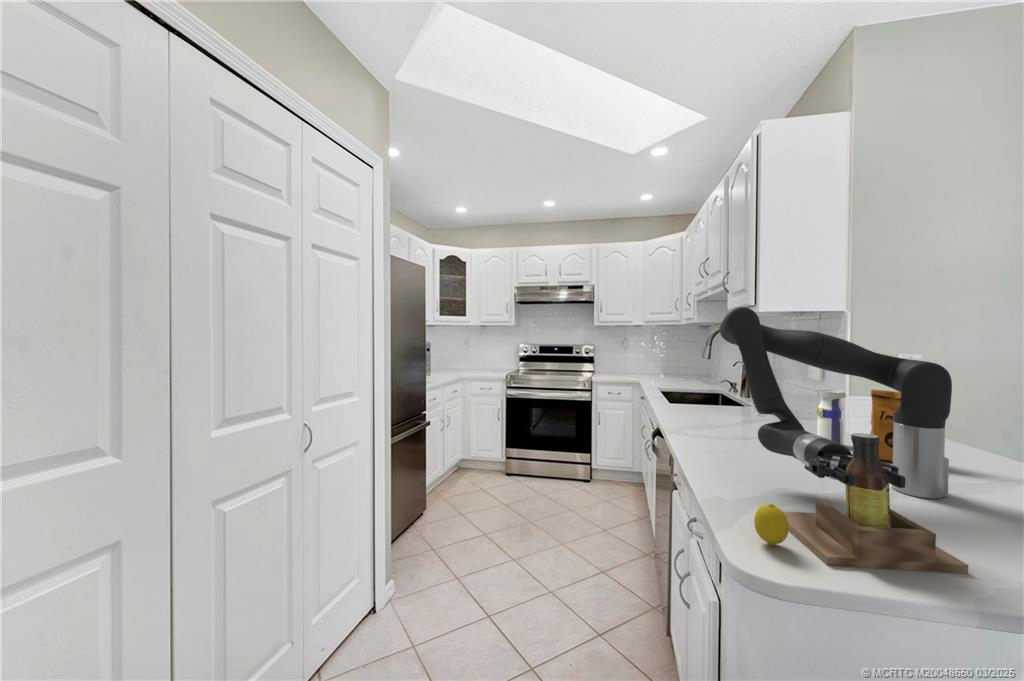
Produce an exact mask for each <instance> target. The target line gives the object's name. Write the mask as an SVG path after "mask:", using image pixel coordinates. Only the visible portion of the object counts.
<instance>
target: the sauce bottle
mask: <svg viewBox="0 0 1024 681" xmlns="http://www.w3.org/2000/svg"><path fill="white" fill-rule="evenodd" d="M850 440H851V443H852V455H853V458H852V460H851V462H850V463H849V464H848V465H847V467H846V471H847V472H849V473H851V474H852V475H853V477H854V483H853V486H847V485H845V500H846V501H845V502H846V506H845V507H846V514H847V517H848V518H850V519H851V520H853V521H854V522H856V523H857V524H859V525H860V526H862V527H881V528H891V524H890V509H891V507H890V506H891V501H890V500H891V499H890V483H889V480H888V478H887V475H886V473H885V471H884V469H883V466H882V464H881V462H880V461H881V460H880V459H879V449H878V445H879V444H880V440H879V437H878V436H876V435H872V434H871V433H860V432H854V433H851V434H850Z"/></svg>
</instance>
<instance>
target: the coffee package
mask: <svg viewBox="0 0 1024 681" xmlns="http://www.w3.org/2000/svg"><path fill="white" fill-rule="evenodd" d="M870 397H871V418H870V425H871V430H870V434H872V435H876V436H878V437H879V440H880V444H879V445H878V449H879V460H880V461H884V462H885V461H886V462H891V463H893V422H894V421H893V419H894V412H895V411H896V410H897V409H898V408H899V407H900V403H901V392H899V391H891V390H883V389H874V388H873V389H871V391H870Z"/></svg>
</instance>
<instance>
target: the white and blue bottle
mask: <svg viewBox="0 0 1024 681" xmlns="http://www.w3.org/2000/svg"><path fill="white" fill-rule="evenodd" d="M818 376H819V375H818V373H817V374H816V376H815V384H818V379H819V378H818ZM816 393H817V398H819V399H820V402H819V405H818V406H817V407H818V408H817V409H816V416H817V425H816V426H817V430H816V432H817V433H816V435H818V436H822V437H824V438H827V439H829V440H831V441H834V442H836V443H839V444H841V445H843V446H845V445H844V444H845V443H844V421H843V418H842V412H843V410H844V408H843V407H842V399H844V398H845V399H846V398H847V394H846V392H845V391H843V390H836V389H817V390H816Z"/></svg>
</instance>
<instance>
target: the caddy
mask: <svg viewBox="0 0 1024 681" xmlns="http://www.w3.org/2000/svg"><path fill="white" fill-rule="evenodd" d="M782 511H783V510H782ZM783 513H784V514H785V516H786V518H787V521H788V533H790V534H792V536H794V537H795V538H796V539H797V540H798V541H799V542H800V543H802V544H803V545H804V546H805V547H806V548H807V549H808V550H809V551H810V552H811V553H813V554H814V555H815V556H816V557H817V558H818V559H819V560H821V561H822V562H823V563H824V564H825V565H826V566H833V567H834V566H836V567H837V566H838V567H850V568H851V567H852V568H853V567H854V568H855V567H856V568H866V569H867V568H868V569H869V568H870V569H883V570H885V569H887V570H901V571H904V570H905V571H917V572H918V571H920V572H933V573H947V574H949V573H950V574H952V573H953V574H965V575H966V574H967V575H968V574H969V564H967V563H966V562H964V561H962V560H961V559H959V558H958V557H955V556H954V555H952V554H951V553H948V552H946V550H944V549H942V548H940V547H938V546H937V542H936V541H937V534H936V533H934V532H933V531H931V530H929V529H927V528H926V527H924V526H922V525H920V524H918V523H916V522H914V521H913V520H911V519H909V518H907V517H906V516H903V515H902V514H900V513H898V512H897V511H895V510H893V509H891V508H890V524H891V528H881V527H862V526H860V525H859V524H857V523H856V522H854V521H853V520H851V519H850V518H848V517H847V513H842V512H840V511H839V510H837V509H836V508H834V507H833V506H831V505H830V504H829V503H827V502H826V501H822V500H815V512H808V511H807V512H804V511H803V512H802V511H800V512H799V511H786V510H785V511H783Z"/></svg>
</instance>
